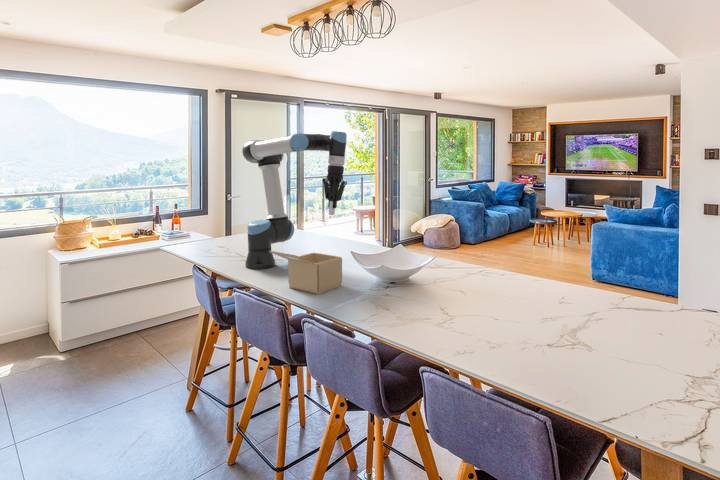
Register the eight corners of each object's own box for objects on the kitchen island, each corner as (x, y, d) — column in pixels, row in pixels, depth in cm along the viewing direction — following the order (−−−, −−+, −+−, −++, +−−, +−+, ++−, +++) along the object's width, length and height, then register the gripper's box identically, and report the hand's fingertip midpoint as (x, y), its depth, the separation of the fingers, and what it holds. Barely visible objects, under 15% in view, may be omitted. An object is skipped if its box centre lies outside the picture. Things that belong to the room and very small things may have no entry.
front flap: (288, 259, 202) (269, 252, 192) (288, 258, 202) (269, 250, 192) (314, 264, 193) (295, 256, 184) (314, 263, 193) (295, 255, 184)
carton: (287, 287, 206) (287, 258, 203) (314, 279, 219) (313, 252, 217) (318, 295, 195) (318, 264, 193) (344, 285, 208) (344, 257, 206)
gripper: (320, 163, 223) (316, 213, 227) (343, 166, 216) (338, 217, 221) (329, 163, 229) (325, 212, 233) (351, 166, 222) (347, 216, 227)
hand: (331, 214), depth 227 cm, fingers closed
